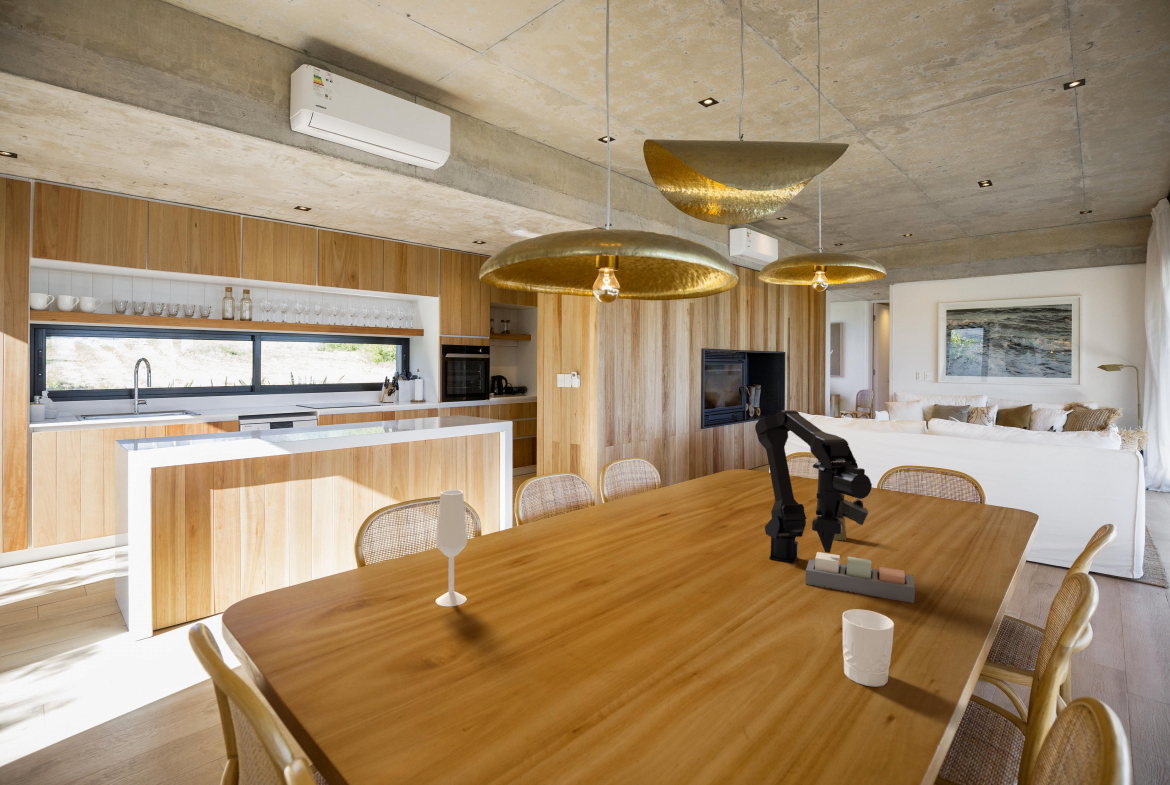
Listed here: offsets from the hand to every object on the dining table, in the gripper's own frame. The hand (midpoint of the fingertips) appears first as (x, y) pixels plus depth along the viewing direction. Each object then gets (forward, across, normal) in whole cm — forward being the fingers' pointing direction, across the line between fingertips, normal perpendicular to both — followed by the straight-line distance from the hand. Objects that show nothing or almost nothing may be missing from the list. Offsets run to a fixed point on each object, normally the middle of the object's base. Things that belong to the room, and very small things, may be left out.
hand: (827, 552), depth 141 cm
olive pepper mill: (+8, +41, 0) cm, 42 cm away
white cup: (+7, -44, -9) cm, 46 cm away
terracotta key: (+6, 0, -14) cm, 15 cm away
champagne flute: (+8, -53, +73) cm, 91 cm away
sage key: (+5, 0, -7) cm, 9 cm away
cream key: (+5, 0, 0) cm, 5 cm away
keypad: (+7, 0, -7) cm, 10 cm away
